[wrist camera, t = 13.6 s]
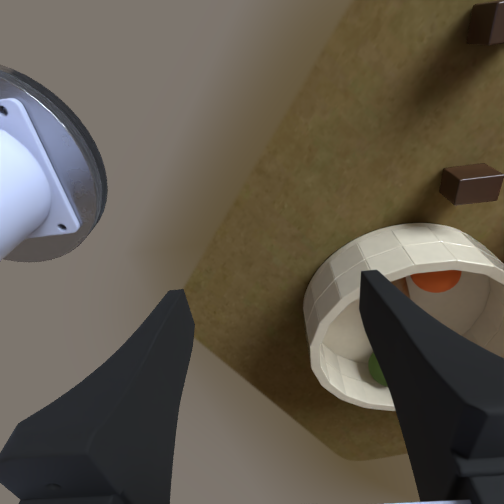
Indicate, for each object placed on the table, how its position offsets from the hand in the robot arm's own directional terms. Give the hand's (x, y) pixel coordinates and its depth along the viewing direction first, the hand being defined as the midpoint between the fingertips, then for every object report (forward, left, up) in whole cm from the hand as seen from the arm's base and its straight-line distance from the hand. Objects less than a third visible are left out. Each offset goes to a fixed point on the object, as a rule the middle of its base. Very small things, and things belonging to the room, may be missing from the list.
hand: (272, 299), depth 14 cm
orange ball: (+10, -5, -7) cm, 14 cm away
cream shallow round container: (+9, -10, -9) cm, 16 cm away
